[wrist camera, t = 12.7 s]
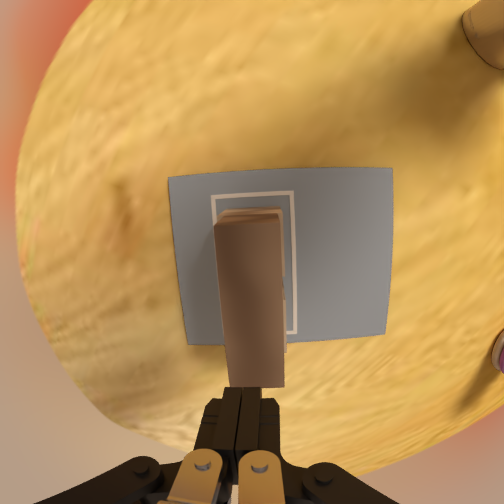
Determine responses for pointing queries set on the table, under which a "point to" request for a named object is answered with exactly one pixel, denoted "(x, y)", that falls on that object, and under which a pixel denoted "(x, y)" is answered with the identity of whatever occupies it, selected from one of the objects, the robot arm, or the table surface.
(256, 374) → the lintel
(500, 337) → the stacking toy
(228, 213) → the tan wooden cube
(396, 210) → the table surface
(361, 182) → the board
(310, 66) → the table surface
